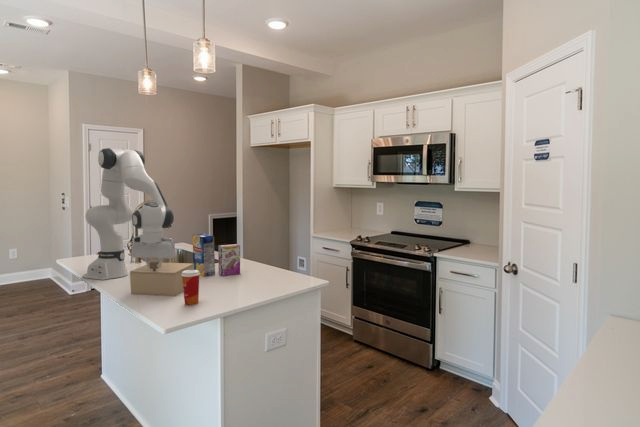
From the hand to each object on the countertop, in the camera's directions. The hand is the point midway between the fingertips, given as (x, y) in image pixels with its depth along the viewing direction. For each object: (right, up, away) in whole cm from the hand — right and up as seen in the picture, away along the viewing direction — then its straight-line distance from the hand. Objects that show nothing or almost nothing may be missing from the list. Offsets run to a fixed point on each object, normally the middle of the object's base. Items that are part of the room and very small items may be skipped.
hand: (154, 267), depth 193 cm
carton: (+1, -12, +9) cm, 15 cm away
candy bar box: (+27, -9, +39) cm, 48 cm away
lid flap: (+1, -2, +8) cm, 8 cm away
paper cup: (+21, -14, -13) cm, 28 cm away
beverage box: (+12, -9, +39) cm, 42 cm away
